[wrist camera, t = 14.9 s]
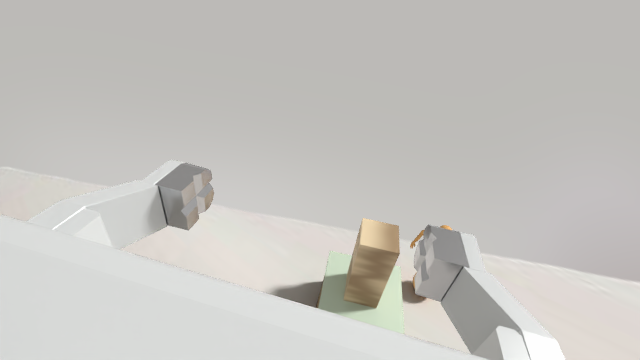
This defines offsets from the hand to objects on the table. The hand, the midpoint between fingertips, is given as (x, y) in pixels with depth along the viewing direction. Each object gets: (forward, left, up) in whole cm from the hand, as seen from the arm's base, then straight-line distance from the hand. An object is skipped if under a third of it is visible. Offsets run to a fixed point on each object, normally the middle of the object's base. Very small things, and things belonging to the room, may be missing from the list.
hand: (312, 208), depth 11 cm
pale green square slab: (+5, +15, -28) cm, 33 cm away
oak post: (+5, +15, -24) cm, 29 cm away
